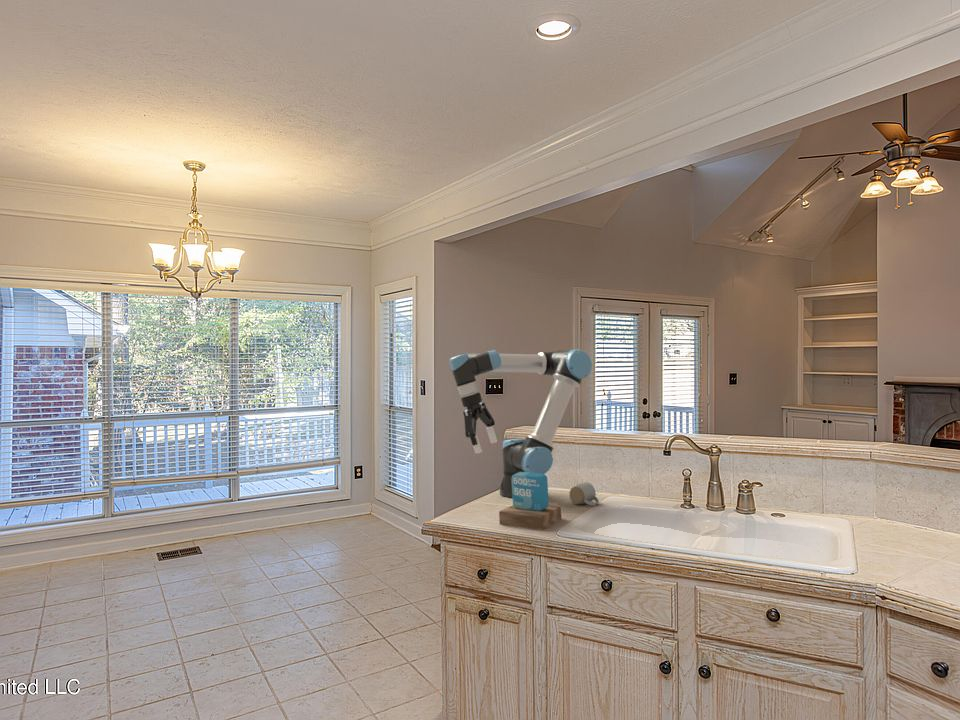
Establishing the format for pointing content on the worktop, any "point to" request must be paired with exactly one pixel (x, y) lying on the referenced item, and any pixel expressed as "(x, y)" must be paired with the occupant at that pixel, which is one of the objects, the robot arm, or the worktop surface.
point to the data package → (530, 491)
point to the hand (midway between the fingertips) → (486, 447)
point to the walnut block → (530, 517)
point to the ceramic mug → (583, 494)
